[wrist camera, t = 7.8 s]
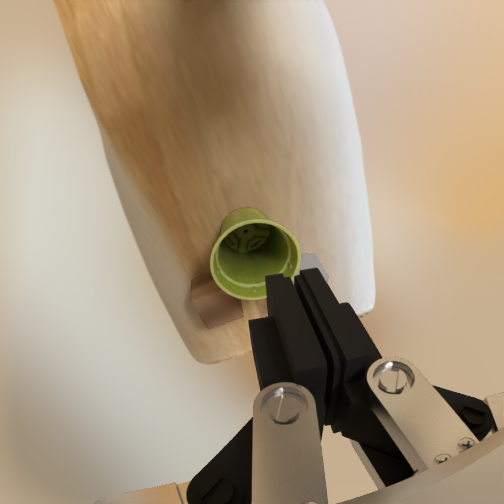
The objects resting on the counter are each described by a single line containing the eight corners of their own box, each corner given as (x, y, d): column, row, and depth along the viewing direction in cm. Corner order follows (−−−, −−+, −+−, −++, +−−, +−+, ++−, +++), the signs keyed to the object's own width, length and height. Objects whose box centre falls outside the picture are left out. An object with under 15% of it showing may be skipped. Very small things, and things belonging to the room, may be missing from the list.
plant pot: (253, 178, 38) (266, 201, 30) (296, 233, 42) (316, 266, 34) (193, 225, 40) (190, 258, 32) (239, 274, 44) (247, 314, 36)
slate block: (278, 253, 43) (288, 276, 38) (314, 253, 44) (328, 276, 39) (274, 284, 45) (283, 310, 40) (308, 284, 46) (321, 309, 41)
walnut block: (191, 279, 43) (190, 301, 39) (225, 266, 43) (228, 287, 39) (207, 306, 46) (208, 329, 41) (239, 294, 45) (243, 316, 41)
